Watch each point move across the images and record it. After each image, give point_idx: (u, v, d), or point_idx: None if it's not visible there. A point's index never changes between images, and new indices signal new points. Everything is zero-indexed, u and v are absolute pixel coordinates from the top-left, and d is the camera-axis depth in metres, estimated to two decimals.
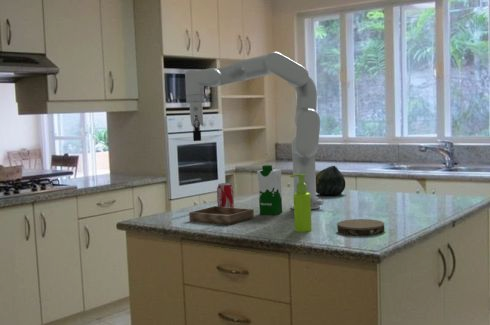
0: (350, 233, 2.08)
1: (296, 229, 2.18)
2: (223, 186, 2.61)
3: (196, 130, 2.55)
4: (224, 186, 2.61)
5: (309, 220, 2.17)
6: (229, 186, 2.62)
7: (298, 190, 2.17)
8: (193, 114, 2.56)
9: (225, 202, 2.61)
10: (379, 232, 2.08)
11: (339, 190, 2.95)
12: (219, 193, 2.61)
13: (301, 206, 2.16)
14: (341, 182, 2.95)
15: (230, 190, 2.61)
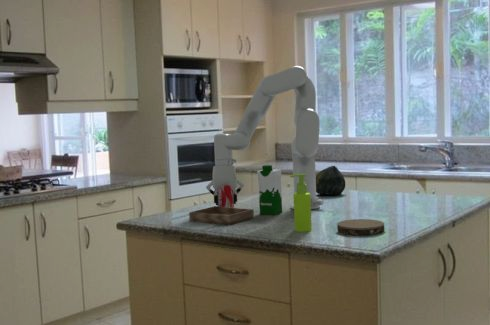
0: (350, 233, 2.08)
1: (296, 229, 2.18)
2: (223, 186, 2.61)
3: None
4: (224, 186, 2.61)
5: (309, 220, 2.17)
6: (229, 186, 2.62)
7: (298, 190, 2.17)
8: None
9: (225, 202, 2.61)
10: (379, 232, 2.08)
11: (339, 190, 2.95)
12: (219, 193, 2.61)
13: (301, 206, 2.16)
14: (341, 182, 2.95)
15: (230, 190, 2.61)
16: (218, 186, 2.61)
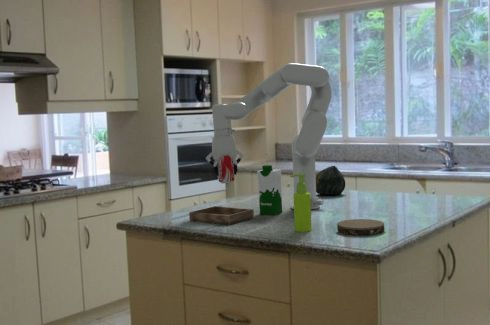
0: (350, 233, 2.08)
1: (296, 229, 2.18)
2: (223, 156, 2.60)
3: (237, 163, 2.63)
4: (224, 156, 2.60)
5: (309, 220, 2.17)
6: (229, 156, 2.60)
7: (298, 190, 2.17)
8: (235, 147, 2.62)
9: (225, 172, 2.60)
10: (379, 232, 2.08)
11: (339, 190, 2.95)
12: (219, 164, 2.60)
13: (301, 206, 2.16)
14: (341, 182, 2.95)
15: (230, 160, 2.60)
16: (218, 156, 2.60)
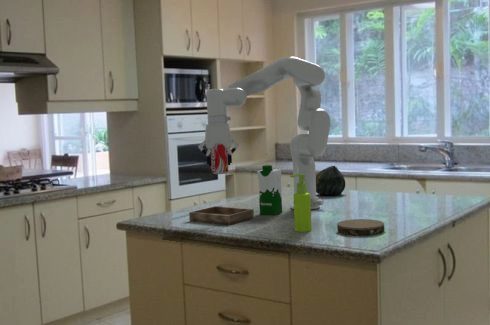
0: (350, 233, 2.08)
1: (296, 229, 2.18)
2: (216, 145, 2.42)
3: (232, 153, 2.45)
4: (217, 145, 2.42)
5: (309, 220, 2.17)
6: (223, 145, 2.42)
7: (298, 190, 2.17)
8: (230, 135, 2.44)
9: (218, 162, 2.42)
10: (379, 232, 2.08)
11: (339, 190, 2.95)
12: (212, 153, 2.42)
13: (301, 206, 2.16)
14: (341, 182, 2.95)
15: (224, 149, 2.42)
16: (211, 145, 2.42)
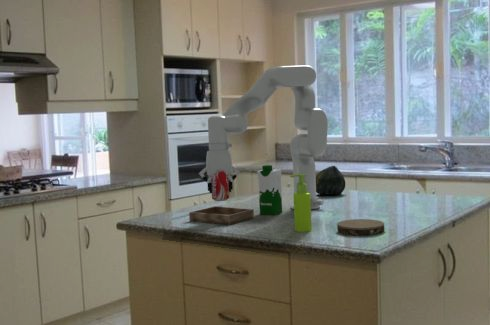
0: (350, 233, 2.08)
1: (296, 229, 2.18)
2: (217, 172, 2.42)
3: None
4: (218, 172, 2.42)
5: (309, 220, 2.17)
6: (224, 172, 2.43)
7: (298, 190, 2.17)
8: (231, 162, 2.44)
9: (219, 189, 2.42)
10: (379, 232, 2.08)
11: (339, 190, 2.95)
12: (213, 180, 2.43)
13: (301, 206, 2.16)
14: (341, 182, 2.95)
15: (225, 177, 2.43)
16: (212, 172, 2.43)
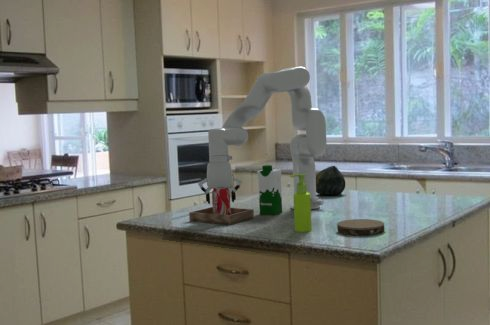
0: (350, 233, 2.08)
1: (296, 229, 2.18)
2: (219, 189, 2.43)
3: (236, 190, 2.46)
4: (220, 189, 2.43)
5: (309, 220, 2.17)
6: (225, 189, 2.44)
7: (298, 190, 2.17)
8: None
9: (220, 206, 2.43)
10: (379, 232, 2.08)
11: (339, 190, 2.95)
12: (214, 197, 2.44)
13: (301, 206, 2.16)
14: (341, 182, 2.95)
15: (226, 194, 2.43)
16: (213, 185, 2.43)
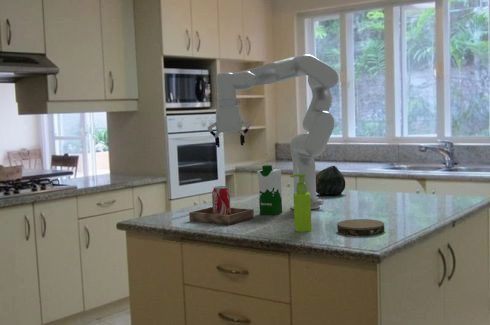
0: (350, 233, 2.08)
1: (296, 229, 2.18)
2: (219, 189, 2.43)
3: (244, 134, 2.51)
4: (220, 189, 2.43)
5: (309, 220, 2.17)
6: (225, 189, 2.44)
7: (298, 190, 2.17)
8: (240, 118, 2.49)
9: (220, 206, 2.43)
10: (379, 232, 2.08)
11: (339, 190, 2.95)
12: (214, 197, 2.44)
13: (301, 206, 2.16)
14: (341, 182, 2.95)
15: (226, 194, 2.43)
16: (222, 128, 2.48)
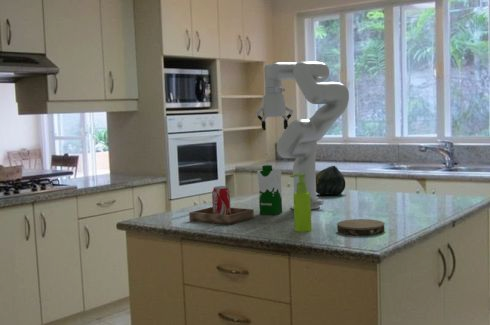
0: (350, 233, 2.08)
1: (296, 229, 2.18)
2: (219, 189, 2.43)
3: (287, 119, 2.82)
4: (220, 189, 2.43)
5: (309, 220, 2.17)
6: (225, 189, 2.44)
7: (298, 190, 2.17)
8: None
9: (220, 206, 2.43)
10: (379, 232, 2.08)
11: (339, 190, 2.95)
12: (214, 197, 2.44)
13: (301, 206, 2.16)
14: (341, 182, 2.95)
15: (226, 194, 2.43)
16: (268, 113, 2.78)
